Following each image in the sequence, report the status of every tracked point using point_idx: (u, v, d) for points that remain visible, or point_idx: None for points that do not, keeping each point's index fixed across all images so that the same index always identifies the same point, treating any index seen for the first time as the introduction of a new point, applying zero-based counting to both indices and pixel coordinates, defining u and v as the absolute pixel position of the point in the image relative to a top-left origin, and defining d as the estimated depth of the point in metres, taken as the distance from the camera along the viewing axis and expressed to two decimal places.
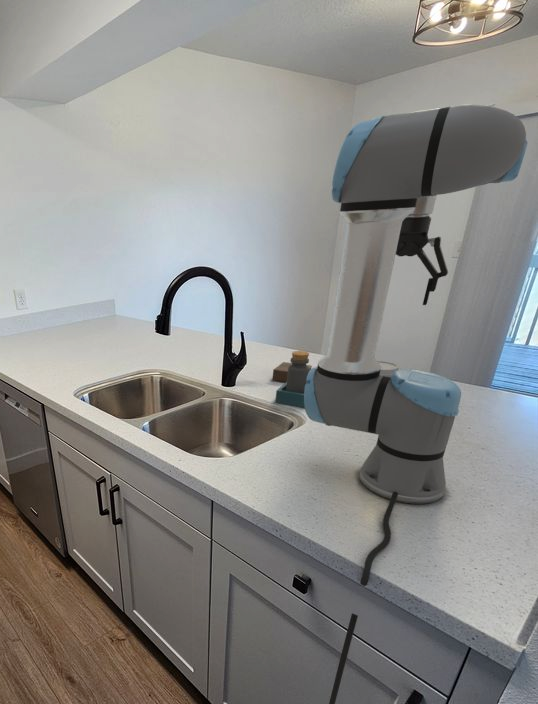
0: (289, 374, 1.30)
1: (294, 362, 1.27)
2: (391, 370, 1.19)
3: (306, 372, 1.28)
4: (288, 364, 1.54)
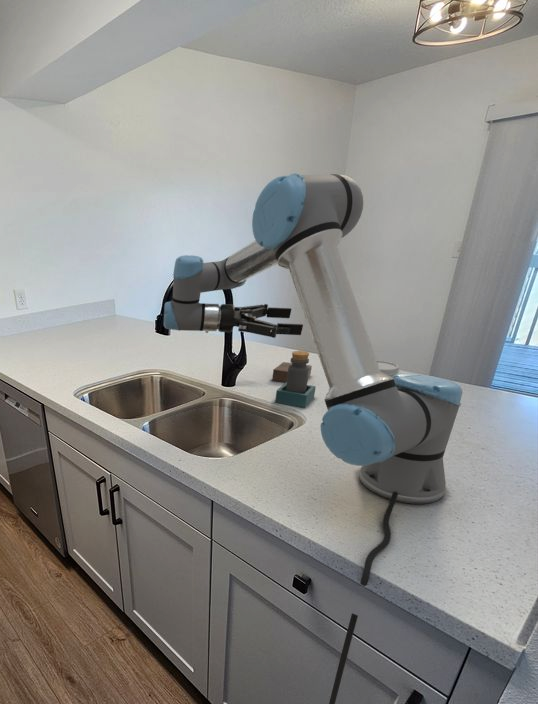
0: (289, 374, 1.30)
1: (294, 362, 1.27)
2: (391, 370, 1.19)
3: (306, 372, 1.28)
4: (288, 364, 1.54)
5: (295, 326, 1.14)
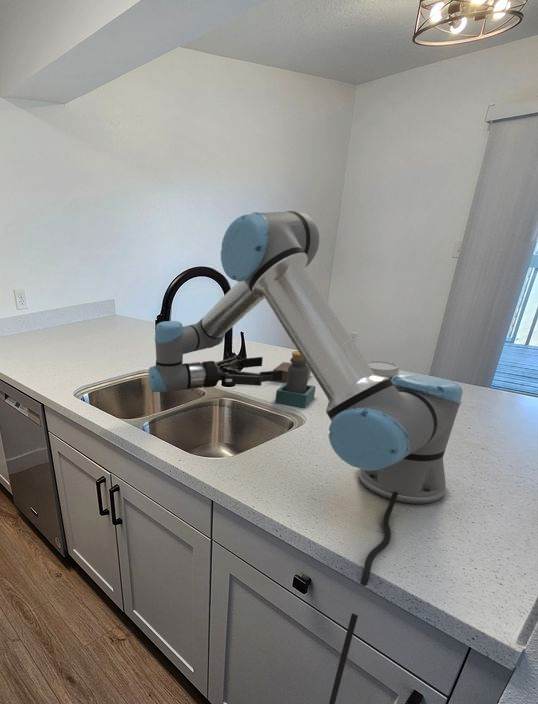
0: (289, 374, 1.30)
1: (294, 362, 1.27)
2: (391, 370, 1.19)
3: (306, 372, 1.28)
4: (288, 364, 1.54)
5: (276, 372, 1.21)
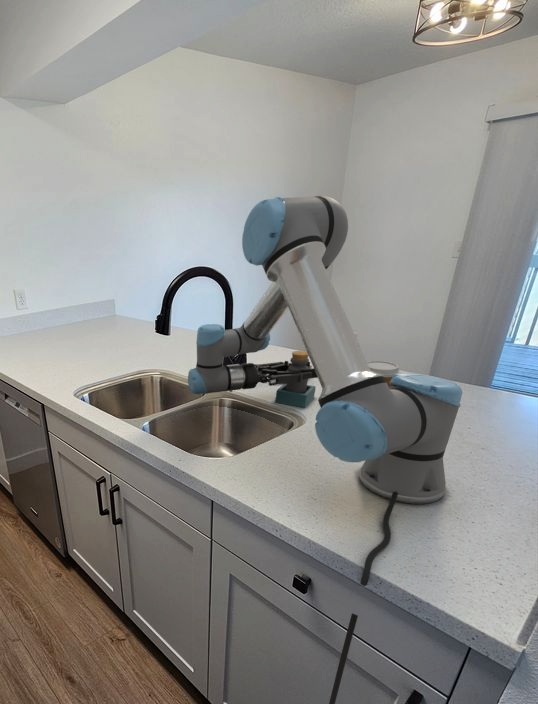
0: None
1: (294, 362, 1.27)
2: (391, 370, 1.19)
3: None
4: None
5: None
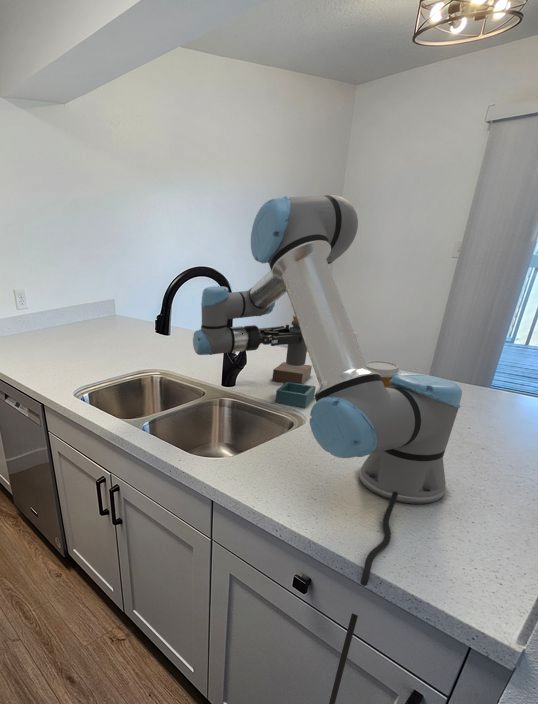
0: None
1: (295, 324, 1.32)
2: (391, 370, 1.19)
3: None
4: None
5: None
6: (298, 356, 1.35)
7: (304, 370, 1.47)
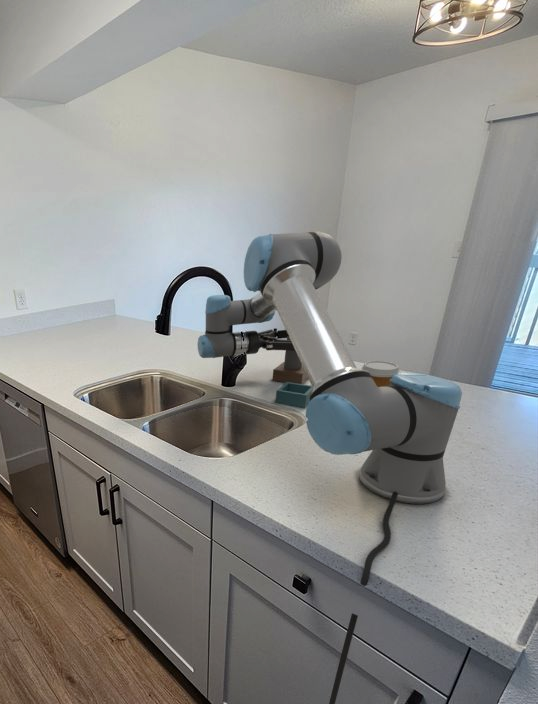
0: None
1: None
2: (391, 370, 1.19)
3: None
4: None
5: None
6: (295, 361, 1.46)
7: (304, 370, 1.47)
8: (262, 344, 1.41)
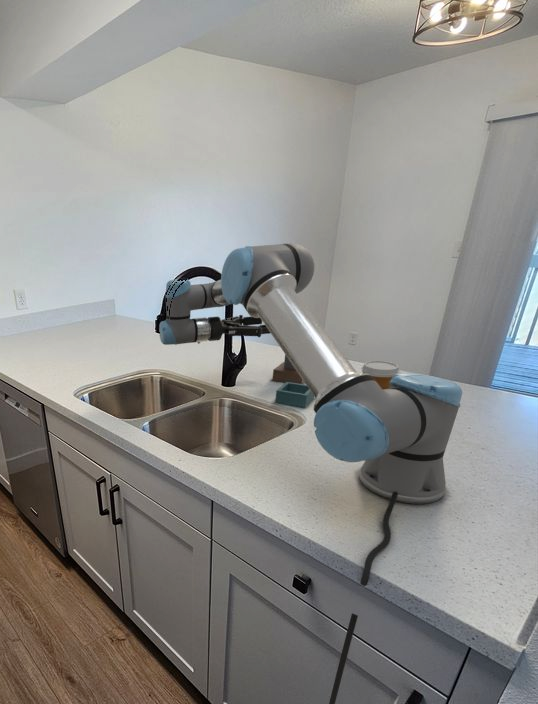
0: None
1: None
2: (391, 370, 1.19)
3: None
4: None
5: None
6: None
7: None
8: (225, 330, 1.37)
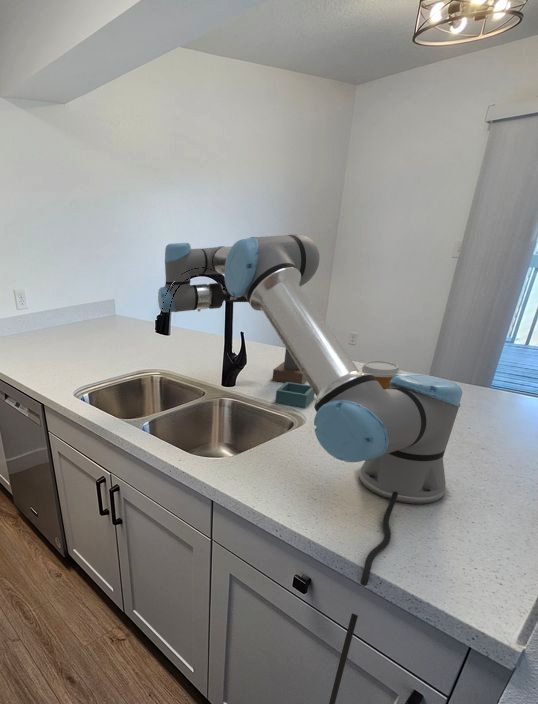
0: None
1: None
2: (391, 370, 1.19)
3: None
4: None
5: None
6: None
7: None
8: (226, 296, 1.32)
